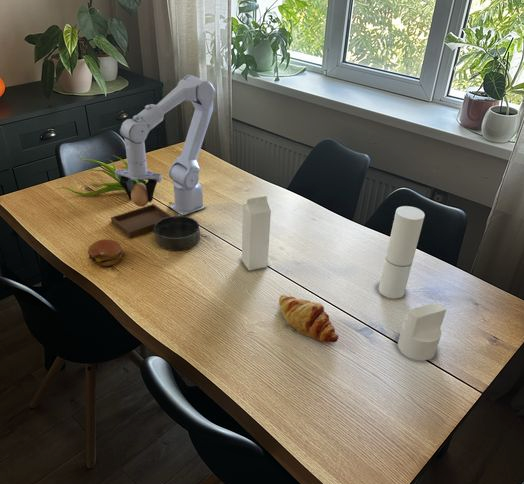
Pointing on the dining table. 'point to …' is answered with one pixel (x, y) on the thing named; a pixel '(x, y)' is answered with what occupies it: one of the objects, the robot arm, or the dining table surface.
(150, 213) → the tray
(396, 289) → the cylindrical container
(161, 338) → the dining table surface
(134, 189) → the egg
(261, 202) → the milk
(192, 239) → the dark grey mixing bowl
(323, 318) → the croissant
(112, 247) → the burger
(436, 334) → the base with upright slab
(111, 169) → the decorative plant
